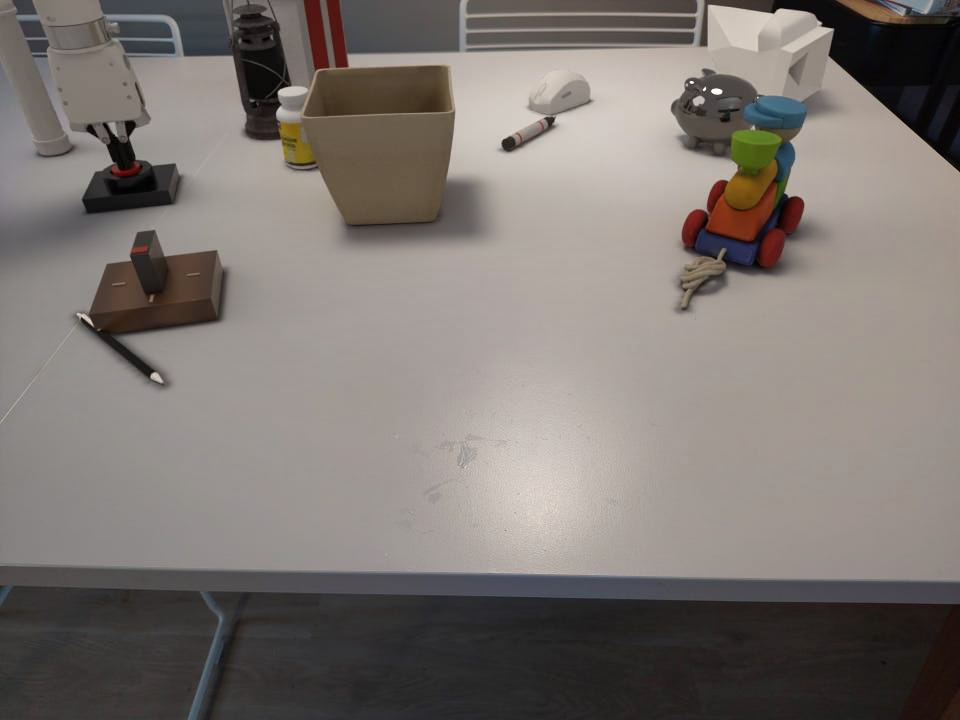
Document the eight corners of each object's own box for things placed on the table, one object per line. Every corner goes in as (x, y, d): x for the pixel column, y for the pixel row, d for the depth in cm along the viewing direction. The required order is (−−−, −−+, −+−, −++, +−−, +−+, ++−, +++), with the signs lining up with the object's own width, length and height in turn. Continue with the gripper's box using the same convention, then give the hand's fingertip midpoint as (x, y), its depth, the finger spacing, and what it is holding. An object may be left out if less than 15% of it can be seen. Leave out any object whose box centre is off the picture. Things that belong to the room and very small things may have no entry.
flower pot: (460, 233, 94) (455, 110, 83) (320, 240, 93) (298, 116, 82) (454, 174, 108) (450, 63, 98) (334, 180, 107) (316, 68, 97)
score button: (113, 184, 101) (108, 173, 100) (117, 173, 104) (113, 162, 103) (141, 181, 102) (137, 170, 101) (145, 170, 105) (141, 159, 104)
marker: (510, 151, 115) (510, 140, 114) (501, 149, 116) (501, 137, 115) (559, 124, 124) (560, 113, 123) (550, 122, 125) (551, 111, 124)
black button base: (87, 213, 100) (76, 187, 98) (100, 184, 108) (90, 160, 105) (172, 203, 102) (164, 178, 99) (179, 176, 110) (172, 152, 107)
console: (98, 336, 77) (87, 313, 75) (115, 284, 85) (106, 262, 83) (217, 319, 79) (210, 296, 77) (223, 270, 87) (216, 248, 85)
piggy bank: (680, 126, 123) (692, 59, 115) (764, 144, 116) (781, 73, 108) (653, 146, 116) (664, 76, 108) (741, 167, 109) (758, 93, 101)
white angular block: (817, 19, 112) (855, 9, 122) (687, -1, 125) (732, -8, 135) (786, 124, 122) (823, 107, 132) (669, 95, 135) (712, 81, 145)
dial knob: (151, 268, 82) (136, 229, 79) (168, 266, 82) (154, 227, 79) (144, 293, 78) (128, 253, 74) (162, 291, 78) (147, 251, 75)
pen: (83, 315, 80) (79, 307, 80) (168, 384, 70) (165, 375, 70) (76, 319, 80) (72, 311, 79) (160, 388, 70) (157, 380, 69)
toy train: (638, 296, 81) (659, 162, 71) (715, 201, 100) (741, 84, 89) (741, 328, 76) (781, 188, 65) (802, 221, 95) (841, 99, 84)
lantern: (273, 113, 131) (235, -70, 112) (319, 121, 127) (287, -67, 108) (229, 136, 122) (179, -58, 103) (276, 145, 119) (233, -54, 100)
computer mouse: (524, 108, 131) (525, 74, 127) (570, 92, 137) (572, 59, 133) (548, 117, 127) (550, 82, 123) (594, 100, 134) (597, 67, 130)
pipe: (33, 150, 119) (-55, -48, 100) (71, 140, 122) (-8, -54, 103) (43, 159, 116) (-46, -44, 96) (82, 149, 119) (2, -50, 100)
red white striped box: (352, 78, 147) (333, -69, 129) (319, 106, 133) (293, -53, 116) (281, 74, 150) (254, -70, 132) (242, 101, 136) (206, -55, 119)
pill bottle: (283, 158, 114) (268, 87, 107) (321, 152, 116) (309, 81, 109) (289, 173, 110) (274, 100, 102) (329, 166, 111) (317, 94, 104)
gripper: (142, 23, 94) (181, 151, 106) (25, 31, 92) (78, 161, 104) (133, 37, 89) (176, 170, 100) (8, 46, 86) (67, 182, 98)
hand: (126, 165), depth 102 cm, fingers closed
